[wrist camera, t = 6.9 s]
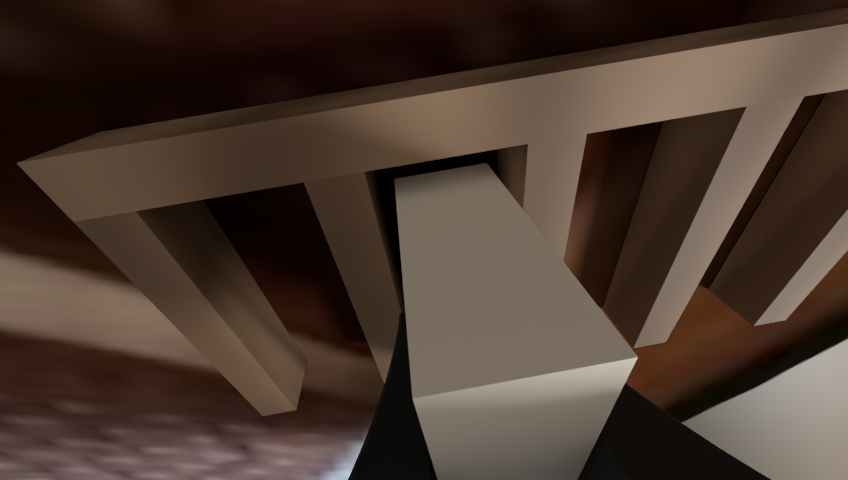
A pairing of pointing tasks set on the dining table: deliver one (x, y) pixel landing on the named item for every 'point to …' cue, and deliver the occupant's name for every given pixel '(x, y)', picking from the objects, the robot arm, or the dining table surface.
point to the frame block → (499, 335)
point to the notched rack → (517, 169)
